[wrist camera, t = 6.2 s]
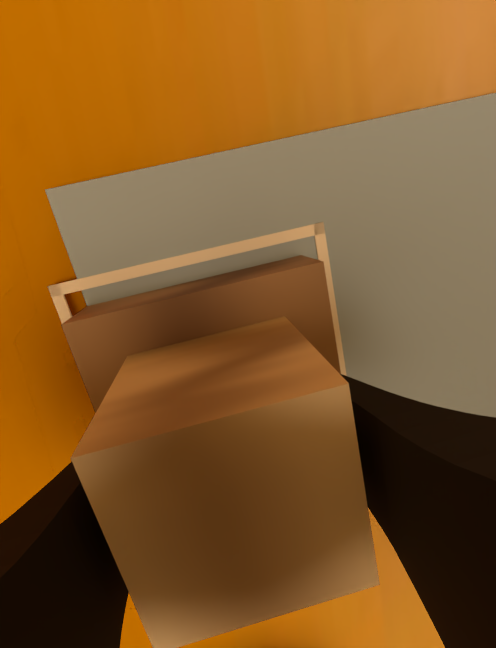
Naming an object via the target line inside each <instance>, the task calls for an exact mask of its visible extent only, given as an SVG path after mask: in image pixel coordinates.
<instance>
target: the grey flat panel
mask: <svg viewBox="0 0 496 648" xmlns="http://www.w3.org/2000/svg"><path fill="white" fill-rule="evenodd" d="M45 191H46V194H47V197H48V200H49V202H50V205H51V208H52V211H53V213H54V216H55V219H56V222H57V224H58V227H59V230H60V233H61V236H62V238H63V241H64V244H65V247H66V249H67V252H68V255H69V258H70V260H71V263H72V266H73V269H74V271H75V274H76V277H77V279H76V280H71V281H67V282H63V283H59V284H54V285H50V286H47V287H48V289H49V292H50V294H51V297H52V299H53V302H54V305H55V307H56V310H57V312H58V315H59V317H60V320H61V323H62V324H63V323H64V322H66V321H67V320H68V319H70V318H71V317H73V316H72V313H71V311H70V308H69V305H68V303H67V300H66V298H65V295H64V294H68V293H72V292H77V291H82V294H83V296H84V299H85V302H86V305H87V306H90V305H94V304H98V303H103V302H107V301H111V300H115V299H119V298H124V297H128V296H132V295H136V294H140V293H145V292H149V291H153V290H157V289H161V288H165V287H170V286H174V285H178V284H182V283H186V282H191V281H195V280H199V279H203V278H207V277H212V276H216V275H220V274H224V273H228V272H232V271H237V270H241V269H245V268H249V267H253V266H258V265H262V264H266V263H270V262H274V261H279V260H283V259H287V258H291V257H295V256H299V255H303V256H306V257H310V258H313V259H317V260H320V261H324V268H325V274H326V281H327V287H328V293H329V300H330V306H331V313H332V319H333V326H334V332H335V338H336V345H337V351H338V358H339V364H340V371H341V374H342V375H345V376H348V377H351V378H353V379H356V380H358V381H361V382H364V383H366V384H369V385H372V386H374V387H377V388H380V389H382V390H385V391H388V392H391V393H394V394H397V395H400V396H403V397H406V398H409V399H413V400H416V401H419V402H423V403H426V404H430V405H434V406H438V407H443V408H447V409H452V410H456V411H461V412H465V413H471V414H476V415H482V416H489V417H496V93H492V94H488V95H483V96H478V97H474V98H469V99H464V100H460V101H455V102H451V103H446V104H441V105H437V106H432V107H427V108H423V109H418V110H413V111H409V112H404V113H399V114H395V115H390V116H385V117H381V118H376V119H372V120H367V121H362V122H358V123H353V124H348V125H344V126H339V127H334V128H330V129H325V130H320V131H316V132H311V133H307V134H302V135H297V136H293V137H288V138H283V139H279V140H274V141H269V142H265V143H260V144H255V145H251V146H246V147H242V148H237V149H232V150H228V151H223V152H218V153H214V154H209V155H204V156H200V157H195V158H190V159H186V160H181V161H176V162H172V163H167V164H163V165H158V166H153V167H149V168H144V169H139V170H135V171H130V172H125V173H121V174H116V175H111V176H107V177H102V178H98V179H93V180H88V181H84V182H79V183H74V184H70V185H65V186H60V187H56V188H51V189H46V190H45Z"/></svg>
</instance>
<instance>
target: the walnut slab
mask: <svg viewBox="0 0 496 648" xmlns="http://www.w3.org/2000/svg"><path fill="white" fill-rule="evenodd" d="M284 316H285V317H286V318H287V319H288V320H289V321H290V322H291V323H292V324H293V325H294V326H295V327H296V329H297V330H298V331H299V332H300V333H301V334H302V335H303V336H304V337H305V338H306V339H307V340H308V341H309V342H310V343H311V344H312V345H313V346H314V347H315V348H316V350H317V351H318V352H319V353H320V354H321V355H322V356H323V357H324V358H325V359H326V360H327V361H328V362H329V363H330V364H331V365H332V366H333V367H334V368H335V369H336V371H337V372H338V373H339V374H341V371H340V364H339V358H338V351H337V345H336V338H335V332H334V326H333V319H332V313H331V306H330V300H329V293H328V287H327V281H326V274H325V268H324V261H320V260H317V259H313V258H310V257H306V256H303V255H299V256H295V257H291V258H287V259H283V260H279V261H274V262H270V263H266V264H262V265H258V266H253V267H249V268H245V269H241V270H237V271H232V272H228V273H224V274H220V275H216V276H212V277H207V278H203V279H199V280H195V281H191V282H186V283H182V284H178V285H174V286H170V287H165V288H161V289H157V290H153V291H149V292H145V293H140V294H136V295H132V296H128V297H124V298H119V299H115V300H111V301H107V302H103V303H98V304H94V305H90V306H87V307H85V308H84V309H82V310H81V311H80V312H78V313H77V314H75V315H74V316H73V317H71V318H70V319H68V320H67V321H66V322H64V323H63V324H61V326H62V328H63V331H64V333H65V336H66V338H67V341H68V344H69V346H70V349H71V351H72V354H73V356H74V359H75V362H76V364H77V367H78V369H79V372H80V374H81V377H82V379H83V382H84V385H85V387H86V390H87V392H88V395H89V397H90V400H91V403H92V405H93V408H94V410H95V413H96V412H97V410H98V408H99V406H100V404H101V403H102V401H103V399H104V397H105V395H106V394H107V392H108V390H109V388H110V386H111V385H112V383H113V381H114V379H115V377H116V376H117V374H118V372H119V370H120V368H121V367H122V365H123V363H124V361H125V359H126V358H127V356H130V355H134V354H138V353H142V352H146V351H149V350H153V349H157V348H161V347H165V346H169V345H173V344H177V343H181V342H185V341H189V340H193V339H197V338H201V337H205V336H209V335H213V334H217V333H220V332H224V331H228V330H232V329H236V328H240V327H244V326H248V325H252V324H256V323H260V322H264V321H268V320H272V319H276V318H280V317H284Z"/></svg>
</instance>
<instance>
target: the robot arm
mask: <svg viewBox="0 0 496 648" xmlns="http://www.w3.org/2000/svg"><path fill="white" fill-rule="evenodd" d="M340 375H341V376H342V377H343V378H344V379H345V380H346V381H347V382H348V383H349V388H350V395H351V401H352V408H353V414H354V421H355V427H356V434H357V440H358V447H359V453H360V460H361V466H362V473H363V479H364V486H365V492H366V499H367V506H368V508H369V509H370V511H371V512H372V514H373V515H374V517H375V518H376V520H377V521H378V523H379V525H380V526H381V528H382V529H383V531H384V532H385V534H386V536H387V537H388V539H389V541H390V542H391V544H392V546H393V547H394V549H395V551H396V553H397V555H398V557H399V559H400V560H401V562H402V564H403V566H404V568H405V570H406V572H407V574H408V576H409V577H410V579H411V581H412V583H413V585H414V587H415V589H416V591H417V593H418V595H419V597H420V599H421V601H422V602H423V604H424V606H425V608H426V610H427V612H428V614H429V616H430V618H431V620H432V622H433V624H434V626H435V628H436V630H437V632H438V634H439V636H440V638H441V640H442V642H443V644H444V646H445V648H496V417H489V416H482V415H476V414H471V413H465V412H461V411H456V410H452V409H447V408H443V407H438V406H434V405H430V404H426V403H423V402H419V401H416V400H413V399H409V398H406V397H403V396H400V395H397V394H394V393H391V392H388V391H385V390H382V389H380V388H377V387H374V386H372V385H369V384H366V383H364V382H361V381H358V380H356V379H353V378H351V377H348V376H345V375H342V374H340ZM128 592H129V591H128V589H127V587H126V584H125V582H124V580H123V577H122V575H121V573H120V571H119V568H118V566H117V564H116V561H115V559H114V557H113V555H112V552H111V550H110V548H109V545H108V543H107V541H106V539H105V536H104V534H103V532H102V529H101V527H100V525H99V522H98V520H97V518H96V516H95V513H94V511H93V509H92V506H91V504H90V502H89V500H88V497H87V495H86V493H85V490H84V488H83V486H82V483H81V481H80V479H79V477H78V474H77V472H76V470H75V467H74V465H73V463H72V462H71V463H70V464H69V465H68V466H66V467H65V468H64V469H63V470H62V471H61V472H60V473H59V474H58V475H57V476H56V477H55V478H54V479H53V480H51V481H50V482H49V483H48V484H47V485H46V486H45V487H44V488H42V489H41V490H40V491H39V492H38V493H37V494H36V495H34V496H33V497H32V498H31V499H30V500H29V501H28V502H26V503H25V504H24V505H23V506H22V507H21V508H20V509H18V510H17V511H16V512H15V513H14V514H12V515H11V516H10V517H9V518H8V519H6V520H5V521H4V522H3V523H1V524H0V648H120V639H121V631H122V624H123V618H124V613H125V607H126V602H127V597H128Z"/></svg>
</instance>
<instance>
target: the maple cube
mask: <svg viewBox="0 0 496 648" xmlns="http://www.w3.org/2000/svg"><path fill="white" fill-rule="evenodd" d="M71 461H72V463H73V465H74V467H75V470H76V472H77V474H78V477H79V479H80V481H81V483H82V486H83V488H84V490H85V493H86V495H87V497H88V500H89V502H90V504H91V506H92V509H93V511H94V513H95V516H96V518H97V520H98V522H99V525H100V527H101V529H102V532H103V534H104V536H105V539H106V541H107V543H108V545H109V548H110V550H111V552H112V555H113V557H114V559H115V561H116V564H117V566H118V568H119V571H120V573H121V575H122V577H123V580H124V582H125V584H126V587H127V589H128V591H129V594H130V596H131V598H132V600H133V603H134V605H135V607H136V610H137V612H138V614H139V616H140V619H141V621H142V623H143V626H144V628H145V630H146V633H147V635H148V637H149V639H150V642H151V644H152V646H153V648H177V647H181V646H184V645H187V644H190V643H193V642H197V641H200V640H203V639H206V638H210V637H213V636H216V635H219V634H222V633H226V632H229V631H232V630H235V629H238V628H242V627H245V626H248V625H251V624H255V623H258V622H261V621H264V620H267V619H271V618H274V617H277V616H280V615H284V614H287V613H290V612H293V611H296V610H300V609H303V608H306V607H309V606H313V605H316V604H319V603H322V602H325V601H329V600H332V599H335V598H338V597H341V596H345V595H348V594H351V593H354V592H358V591H361V590H364V589H367V588H370V587H374V586H377V585H380V584H379V577H378V571H377V564H376V558H375V551H374V545H373V538H372V532H371V525H370V519H369V512H368V506H367V499H366V492H365V486H364V479H363V473H362V466H361V460H360V453H359V447H358V440H357V434H356V427H355V421H354V414H353V408H352V401H351V395H350V388H349V383H348V382H347V381H346V380H345V379H344V378H343V377H342V376H341V375H340V374H339V373H338V372H337V371H336V369H335V368H334V367H333V366H332V365H331V364H330V363H329V362H328V361H327V360H326V359H325V358H324V357H323V356H322V355H321V354H320V353H319V352H318V351H317V350H316V348H315V347H314V346H313V345H312V344H311V343H310V342H309V341H308V340H307V339H306V338H305V337H304V336H303V335H302V334H301V333H300V332H299V331H298V330H297V329H296V327H295V326H294V325H293V324H292V323H291V322H290V321H289V320H288V319H287V318H286V317H285V316H284V317H280V318H276V319H272V320H268V321H264V322H260V323H256V324H252V325H248V326H244V327H240V328H236V329H232V330H228V331H224V332H220V333H217V334H213V335H209V336H205V337H201V338H197V339H193V340H189V341H185V342H181V343H177V344H173V345H169V346H165V347H161V348H157V349H153V350H149V351H146V352H142V353H138V354H134V355H130V356H127V358H126V359H125V361H124V363H123V365H122V367H121V368H120V370H119V372H118V374H117V376H116V377H115V379H114V381H113V383H112V385H111V386H110V388H109V390H108V392H107V394H106V395H105V397H104V399H103V401H102V403H101V404H100V406H99V408H98V410H97V412H96V413H95V415H94V417H93V419H92V421H91V422H90V424H89V426H88V428H87V430H86V431H85V433H84V435H83V437H82V439H81V440H80V442H79V444H78V446H77V448H76V449H75V451H74V453H73V455H72V457H71Z"/></svg>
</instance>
